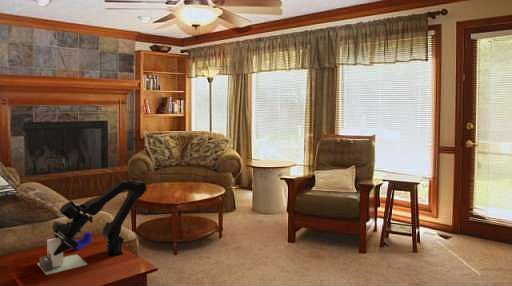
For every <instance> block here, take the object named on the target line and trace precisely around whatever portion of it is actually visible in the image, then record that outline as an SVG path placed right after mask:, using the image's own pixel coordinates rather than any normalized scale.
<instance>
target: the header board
mask: <svg viewBox="0 0 512 286" xmlns="http://www.w3.org/2000/svg"><path fill="white" fill-rule="evenodd" d="M36 264H37V265H38V267H39V268H40V270H42V272H43V273H44V275H46V276H48V275H51V274H55V273H60V272H63V271H67V270H71V269H75V268H79V267H84V266H87V265H88V263H87V262H86V261H85V260H83V259H82V258H81V257H80V256H79V255H78V254H72V255H67V256H63V265H60V266H56V267H52V261H51V260H50V259H49V257H48V256H47V255H43V256H39V262H37V263H36Z"/></svg>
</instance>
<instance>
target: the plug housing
mask: <svg viewBox="0 0 512 286" xmlns="http://www.w3.org/2000/svg"><path fill="white" fill-rule="evenodd" d="M60 244H61V239H60V238H54V237H53V238H48V239H46V249H47V251H46V253H47V255H46V256H48V257H49V259H50V260H51V261H52V267H56V266H60V265H63V257H64V252H62V253H60V254H58V255H56V256H55V255H53V254H54V252H55V251H56V250H57V248H58V247H59V245H60Z"/></svg>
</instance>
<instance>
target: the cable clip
mask: <svg viewBox="0 0 512 286" xmlns="http://www.w3.org/2000/svg"><path fill="white" fill-rule="evenodd" d="M75 240H76V241H77V242H78V247H77V248H76V249H75V248H73V247H72V249H71V250H72V251H76V252H77V251H79V250H81V249H83V248H84V247H86V246H87V245H89V244H90V243H91V242H92V233H91V232H85V233H83V237H81V238H80V240H79V239H75Z"/></svg>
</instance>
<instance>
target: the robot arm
mask: <svg viewBox="0 0 512 286" xmlns="http://www.w3.org/2000/svg"><path fill="white" fill-rule="evenodd" d="M125 190H127V191H128V193H127V196H126V198H125V199H124V201H123V202H122V205H121V207H120V208H119V210H118V211H117V213H116V214H115V216H114V218H113V220H112V221H111V222H108V221H107V222H106V223H105V226H104V227H103V228H102V236H103V237H104V238H105V240H106V241H107V242H106V247H105V249H106V250H105V253H106V254H107V255H108V257H115V256H120V255H123V254H124V252H123V250H122V249H123V247H122V246H123V243H124V238H123V237H122V236H120V234H121V232H122V225H123V224H124V222H125V220H126V219H127V216H128V215H129V213H130V211H131V210H132V209H133V206H134V205H135V203H136V202H137V200H138V199H140V198H141V197H142V196H143V195H144V194H145V193H146V191H147V184H145V182H142V181H140V180H137V179H136V180H123V179H122V180H119V181H118V182H117V183H115V184H114V185H112V187H110V188H108V189H107V190H105V192H103V193H102V194H100V195H99V196H97V197H94V198H91V199H88V200H86V201H85V202H84V203H82V204H79V205H76V204H75V202H74V201H72V200H69V201H68V202H67V203H65V204H63V205H62V206H61V207H60V208H59V209H60V210H59V213H60V214H62V216H64V217H66V218H67V219H68V220H71V221H68V222H66V223H64V222H61V221H60V222H59V221H54V222H53V224H52V227H51V229H52V231H53V239H54V238H60V239H61V244H60V245H59V247H58V248H57V250H56V251H55V252H54V254H53V255H55V256H56V255H58V254H60V253H62V252H63V253H64V252H66V251H68V250H70V249H71V250H72V247H73V248H75V249H76V248H77V247H78V242H77V241H76V240H77V239H76V238H75V237H76V235H77V234H78V233H79V234H80V233H81V232H82V229H83V227H84V226H85V225H86V224H87V222H90V223H91V224H93V218H94V217H93V216H96V215H98V213H100V212H101V211H102V209H103V207H104V206H105V205H106V204H107V203H109V202H110V201H111V200H113V199H115V197H116V196H118V195H120V194H121V193H122V192H124V191H125ZM81 212H82V213H81Z"/></svg>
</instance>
